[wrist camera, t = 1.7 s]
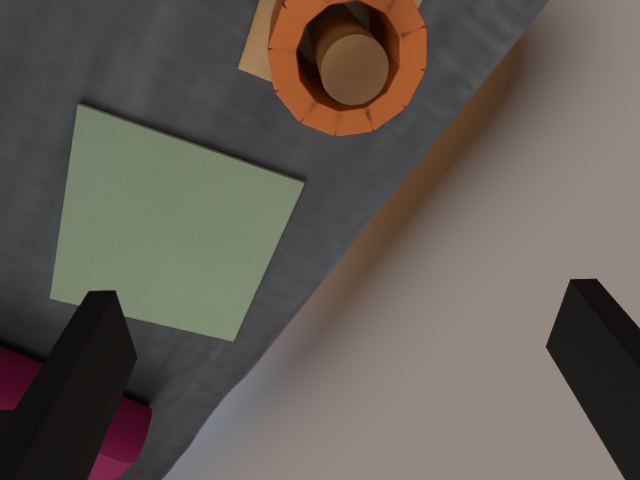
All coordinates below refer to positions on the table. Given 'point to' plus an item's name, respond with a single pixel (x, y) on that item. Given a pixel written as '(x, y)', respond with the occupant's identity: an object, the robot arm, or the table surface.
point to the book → (124, 431)
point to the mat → (166, 225)
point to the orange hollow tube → (304, 77)
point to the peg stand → (328, 50)
